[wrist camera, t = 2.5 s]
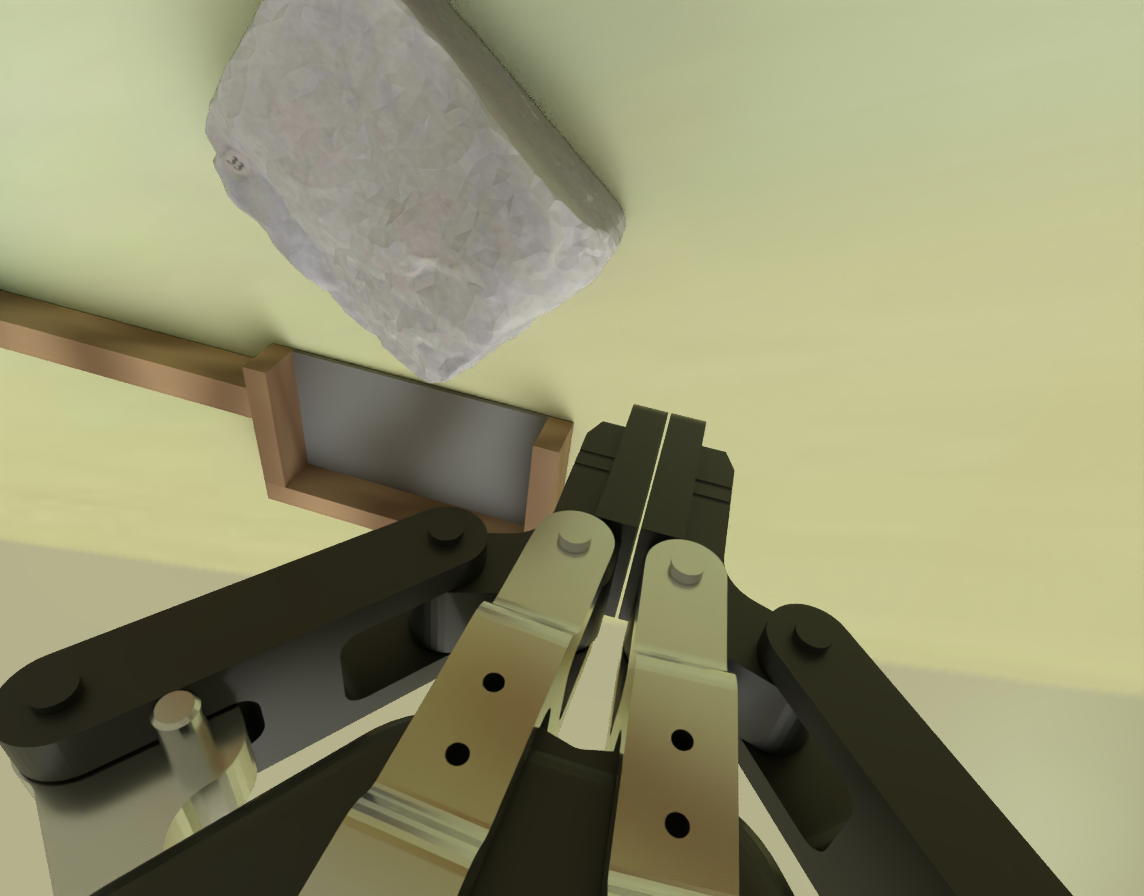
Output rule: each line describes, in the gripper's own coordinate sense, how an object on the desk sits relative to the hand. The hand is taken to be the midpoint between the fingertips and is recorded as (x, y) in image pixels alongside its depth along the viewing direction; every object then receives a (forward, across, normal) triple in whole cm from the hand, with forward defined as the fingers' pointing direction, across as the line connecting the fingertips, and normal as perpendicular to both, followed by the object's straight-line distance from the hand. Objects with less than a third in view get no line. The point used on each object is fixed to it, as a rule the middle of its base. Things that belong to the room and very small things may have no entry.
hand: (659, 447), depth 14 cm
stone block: (+11, +10, -1) cm, 15 cm away
